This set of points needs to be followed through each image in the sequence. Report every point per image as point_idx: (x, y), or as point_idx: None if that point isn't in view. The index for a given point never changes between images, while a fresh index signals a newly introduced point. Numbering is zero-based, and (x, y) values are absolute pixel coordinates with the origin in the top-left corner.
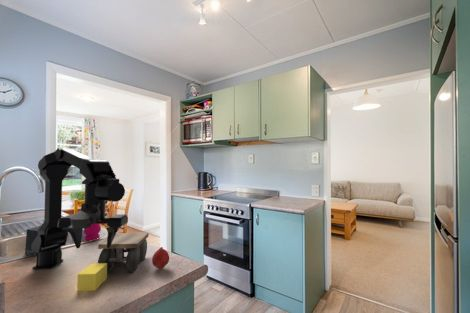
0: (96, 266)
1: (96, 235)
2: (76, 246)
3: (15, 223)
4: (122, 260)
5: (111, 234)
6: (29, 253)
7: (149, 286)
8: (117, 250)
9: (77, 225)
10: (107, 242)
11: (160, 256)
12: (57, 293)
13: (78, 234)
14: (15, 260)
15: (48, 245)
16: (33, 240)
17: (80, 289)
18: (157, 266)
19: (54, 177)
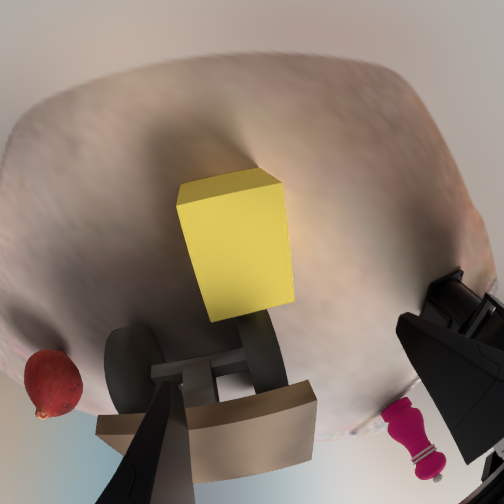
0: (242, 282)
1: (389, 417)
2: (417, 318)
3: None
4: (182, 364)
5: (110, 491)
6: None
7: (11, 255)
8: (209, 399)
9: None
10: (162, 419)
11: (28, 379)
12: (327, 145)
13: (462, 392)
14: (488, 289)
15: (484, 320)
16: None
17: (246, 171)
18: (45, 350)
19: None
